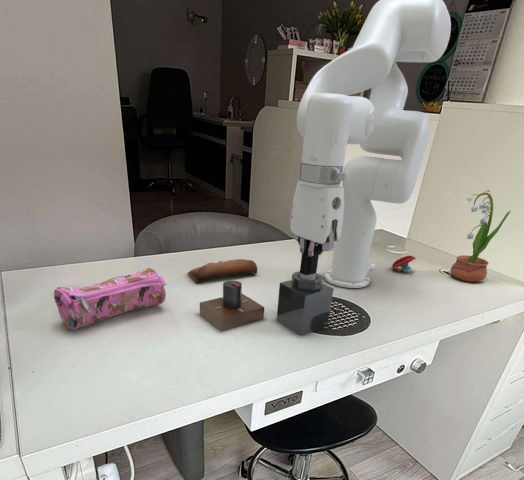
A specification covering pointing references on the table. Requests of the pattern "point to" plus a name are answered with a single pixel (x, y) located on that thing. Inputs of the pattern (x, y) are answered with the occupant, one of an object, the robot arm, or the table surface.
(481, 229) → the potted flower
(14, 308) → the table surface
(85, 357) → the table surface
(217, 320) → the control box
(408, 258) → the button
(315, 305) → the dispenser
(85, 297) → the pencil case
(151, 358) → the table surface
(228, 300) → the dial
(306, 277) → the grey cylinder plug
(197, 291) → the table surface
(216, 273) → the sunglasses case
